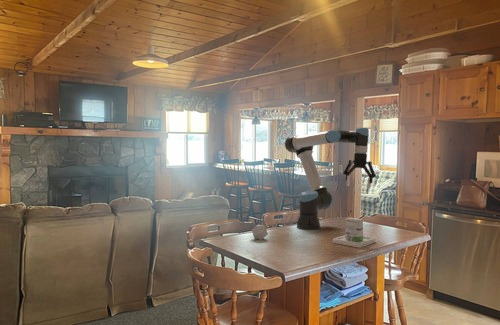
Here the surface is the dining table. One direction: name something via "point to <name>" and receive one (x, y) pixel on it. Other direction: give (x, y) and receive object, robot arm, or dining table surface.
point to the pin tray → (354, 243)
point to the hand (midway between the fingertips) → (358, 187)
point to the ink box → (354, 229)
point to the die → (259, 232)
